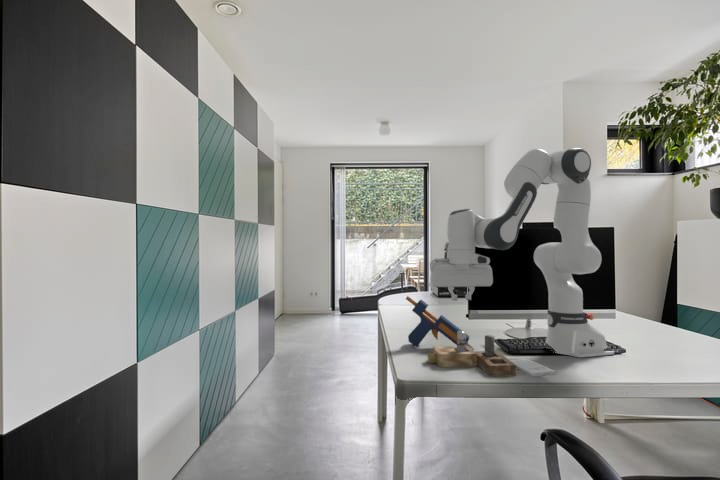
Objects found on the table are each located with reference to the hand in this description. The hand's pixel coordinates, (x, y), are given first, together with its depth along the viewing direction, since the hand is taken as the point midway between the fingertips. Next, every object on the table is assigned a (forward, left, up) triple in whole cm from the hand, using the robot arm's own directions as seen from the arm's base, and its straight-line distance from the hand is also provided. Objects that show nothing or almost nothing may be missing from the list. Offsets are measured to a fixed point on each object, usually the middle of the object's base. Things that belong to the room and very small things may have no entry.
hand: (461, 300), depth 134 cm
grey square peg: (0, 0, -20) cm, 20 cm away
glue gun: (+3, -19, -21) cm, 28 cm away
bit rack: (-8, +6, -20) cm, 23 cm away
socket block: (+3, 0, -20) cm, 21 cm away
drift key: (+7, 0, -20) cm, 21 cm away
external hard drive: (-20, +8, -21) cm, 30 cm away
